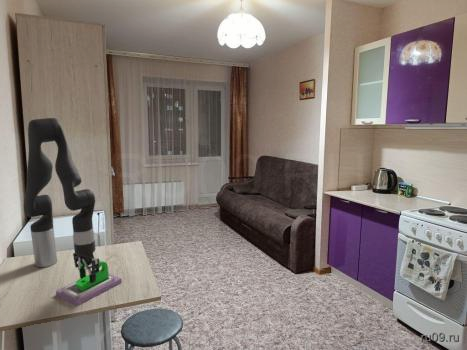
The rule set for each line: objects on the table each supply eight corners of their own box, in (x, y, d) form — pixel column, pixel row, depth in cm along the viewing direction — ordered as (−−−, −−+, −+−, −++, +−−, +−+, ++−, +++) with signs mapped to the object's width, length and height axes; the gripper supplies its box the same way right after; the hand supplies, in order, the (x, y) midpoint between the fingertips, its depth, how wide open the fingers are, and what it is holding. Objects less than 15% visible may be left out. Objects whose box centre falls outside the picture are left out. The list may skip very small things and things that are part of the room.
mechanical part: (99, 273, 138) (97, 256, 136) (108, 277, 135) (106, 259, 133) (73, 287, 128) (70, 268, 126) (82, 291, 125) (79, 272, 123)
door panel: (56, 294, 128) (55, 287, 127) (100, 274, 144) (100, 267, 144) (77, 305, 120) (76, 298, 120) (121, 282, 137) (121, 275, 136)
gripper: (64, 239, 128) (68, 279, 131) (86, 247, 120) (90, 289, 123) (82, 234, 134) (85, 271, 137) (104, 240, 126) (107, 280, 129)
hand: (88, 279), depth 130 cm, fingers closed on mechanical part, 6 cm apart
